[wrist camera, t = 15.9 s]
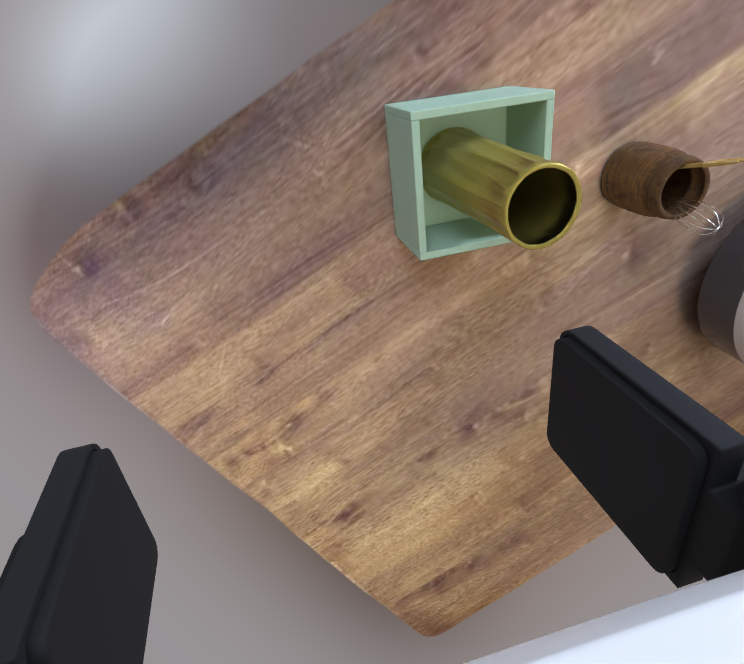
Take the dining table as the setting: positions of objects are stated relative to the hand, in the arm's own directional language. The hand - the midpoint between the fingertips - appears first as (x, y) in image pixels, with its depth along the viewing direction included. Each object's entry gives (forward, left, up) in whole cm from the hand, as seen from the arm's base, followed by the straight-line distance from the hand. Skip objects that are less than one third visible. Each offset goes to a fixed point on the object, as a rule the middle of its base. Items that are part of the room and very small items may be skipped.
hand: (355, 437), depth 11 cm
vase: (+2, +15, -33) cm, 36 cm away
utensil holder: (+6, +33, -34) cm, 47 cm away
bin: (+2, +16, -33) cm, 37 cm away
